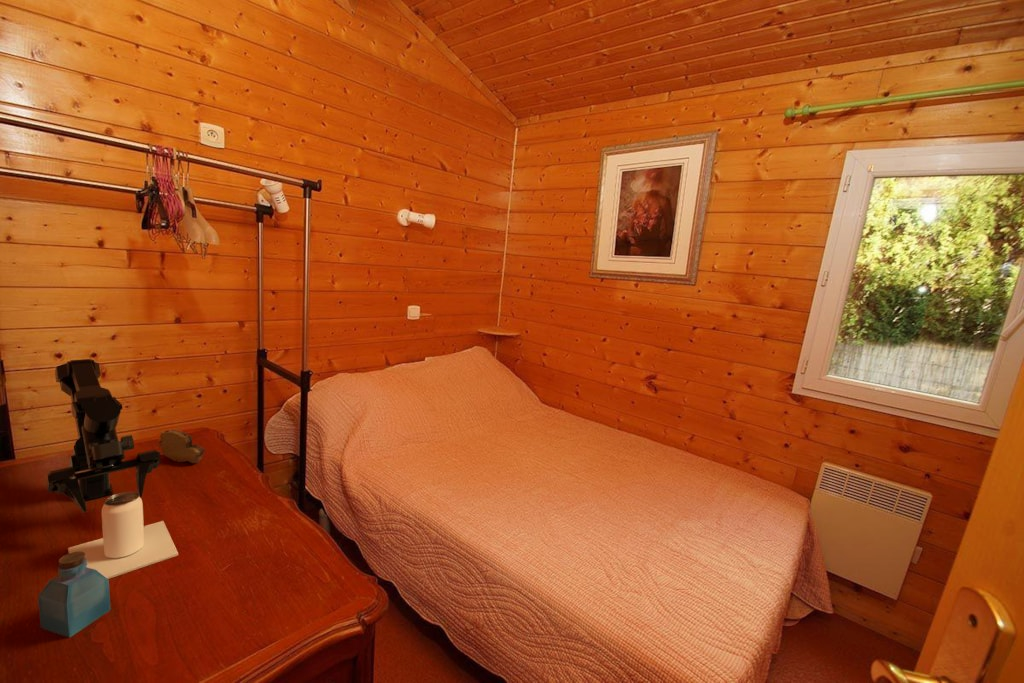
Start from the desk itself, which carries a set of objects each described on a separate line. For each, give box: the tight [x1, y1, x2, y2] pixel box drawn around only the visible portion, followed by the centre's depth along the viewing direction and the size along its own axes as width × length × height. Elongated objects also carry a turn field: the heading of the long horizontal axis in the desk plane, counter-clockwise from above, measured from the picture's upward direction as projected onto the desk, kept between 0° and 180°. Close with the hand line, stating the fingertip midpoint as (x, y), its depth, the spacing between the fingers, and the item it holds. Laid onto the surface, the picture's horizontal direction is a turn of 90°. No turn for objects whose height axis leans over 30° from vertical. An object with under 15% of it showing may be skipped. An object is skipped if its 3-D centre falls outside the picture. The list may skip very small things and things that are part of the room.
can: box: [101, 491, 145, 559], centre depth 92 cm, size 6×6×12 cm
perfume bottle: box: [37, 551, 111, 639], centre depth 75 cm, size 6×6×12 cm
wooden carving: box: [155, 429, 205, 464], centre depth 134 cm, size 16×5×10 cm, turn 80°
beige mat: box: [67, 520, 179, 580], centre depth 93 cm, size 16×16×1 cm
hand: (114, 504), depth 96 cm, fingers open, 9 cm apart
